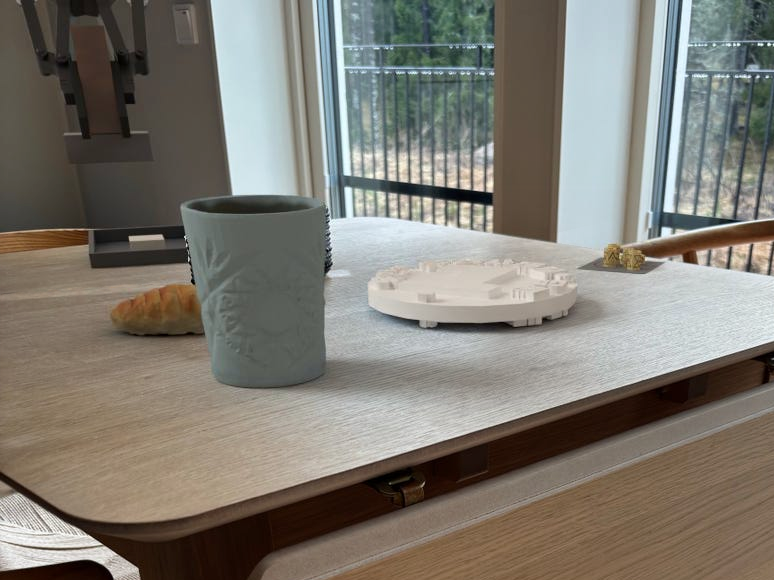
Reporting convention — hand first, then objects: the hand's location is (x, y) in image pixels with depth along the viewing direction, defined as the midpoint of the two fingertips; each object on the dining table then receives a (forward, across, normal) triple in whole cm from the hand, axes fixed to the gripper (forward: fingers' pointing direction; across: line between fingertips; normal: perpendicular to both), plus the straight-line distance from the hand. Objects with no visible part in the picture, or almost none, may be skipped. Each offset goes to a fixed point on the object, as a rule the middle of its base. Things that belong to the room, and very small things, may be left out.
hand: (105, 127), depth 93 cm
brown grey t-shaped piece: (0, 0, +5) cm, 5 cm away
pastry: (+24, +3, -2) cm, 24 cm away
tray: (-4, +2, +26) cm, 26 cm away
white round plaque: (+24, +31, -3) cm, 39 cm away
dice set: (+13, +54, +8) cm, 56 cm away
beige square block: (-5, +2, +25) cm, 26 cm away
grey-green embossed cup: (+36, +9, -14) cm, 40 cm away
